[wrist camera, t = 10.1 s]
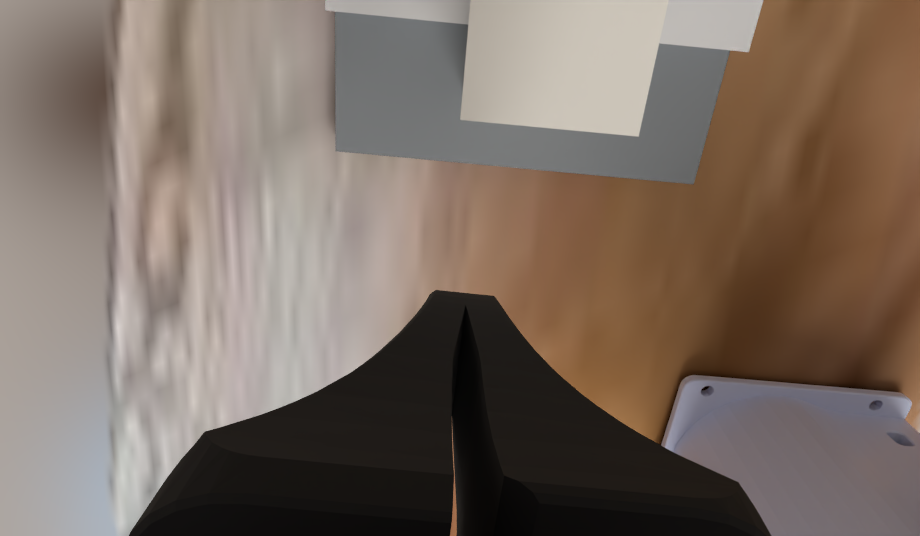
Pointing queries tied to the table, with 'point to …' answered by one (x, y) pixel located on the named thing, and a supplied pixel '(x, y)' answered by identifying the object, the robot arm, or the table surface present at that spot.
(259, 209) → the table surface
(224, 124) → the table surface
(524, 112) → the block
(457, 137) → the rail board
